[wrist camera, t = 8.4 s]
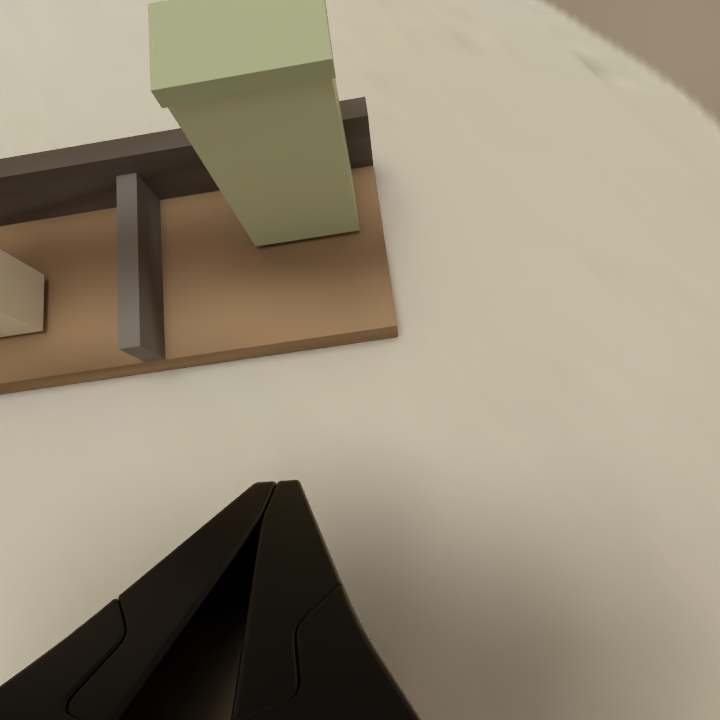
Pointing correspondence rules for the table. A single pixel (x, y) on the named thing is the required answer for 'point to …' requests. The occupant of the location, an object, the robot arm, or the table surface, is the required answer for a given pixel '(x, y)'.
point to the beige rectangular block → (20, 297)
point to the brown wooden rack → (177, 264)
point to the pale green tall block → (259, 109)
